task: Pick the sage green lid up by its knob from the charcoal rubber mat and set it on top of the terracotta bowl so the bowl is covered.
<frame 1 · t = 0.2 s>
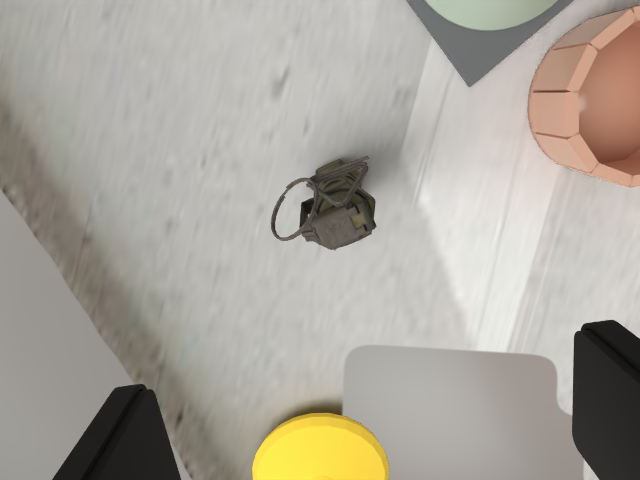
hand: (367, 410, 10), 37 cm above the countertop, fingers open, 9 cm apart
vase: (320, 453, 56), on the countertop
bowl: (602, 97, 43), on the countertop
grenade: (324, 181, 46), on the countertop
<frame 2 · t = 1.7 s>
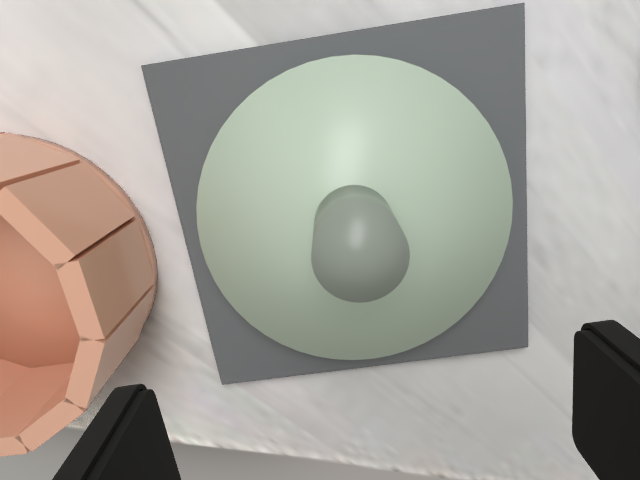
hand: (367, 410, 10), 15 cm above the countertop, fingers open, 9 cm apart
bowl: (31, 262, 26), on the countertop
mat: (352, 216, 25), on the countertop
lid: (352, 219, 24), resting on mat
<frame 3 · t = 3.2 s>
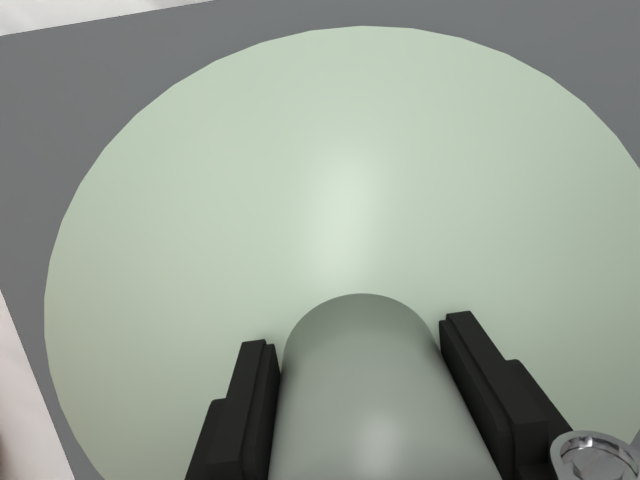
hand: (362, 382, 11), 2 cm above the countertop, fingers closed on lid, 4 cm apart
mat: (355, 338, 13), on the countertop
lid: (357, 348, 13), resting on mat, touching gripper
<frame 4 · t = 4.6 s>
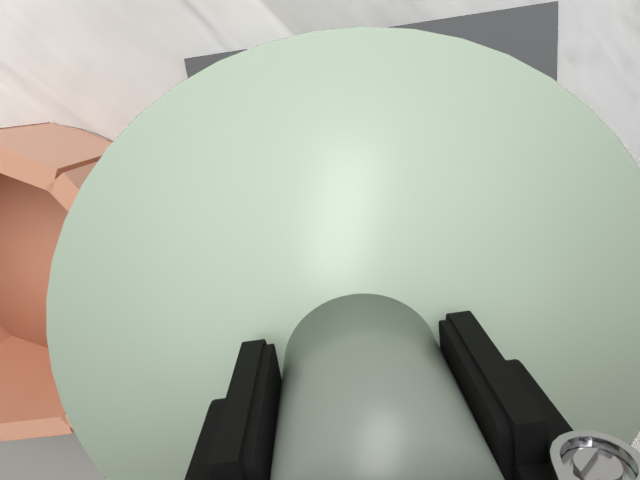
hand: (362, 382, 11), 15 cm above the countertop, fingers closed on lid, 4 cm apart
bowl: (69, 250, 26), on the countertop
mat: (383, 208, 25), on the countertop
lid: (358, 348, 13), point 14 cm above the countertop, touching gripper
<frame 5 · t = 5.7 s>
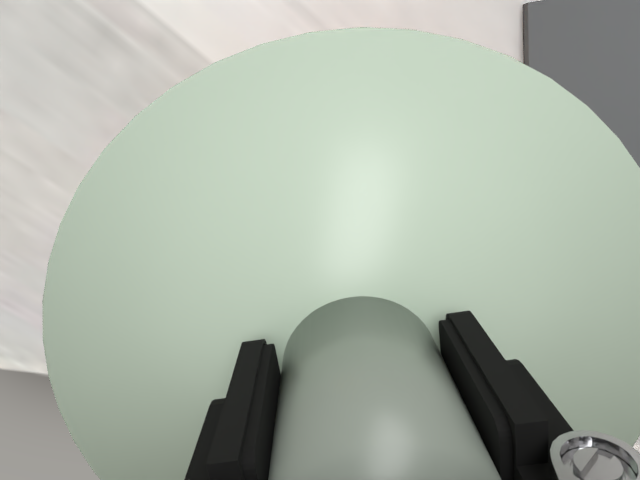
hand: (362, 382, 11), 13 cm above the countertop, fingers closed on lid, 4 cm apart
lid: (357, 350, 13), point 11 cm above the countertop, touching gripper
when the fingers open (10 cm above the countertop, at t = 6.3 s): lid drops 1 cm, resting on bowl.
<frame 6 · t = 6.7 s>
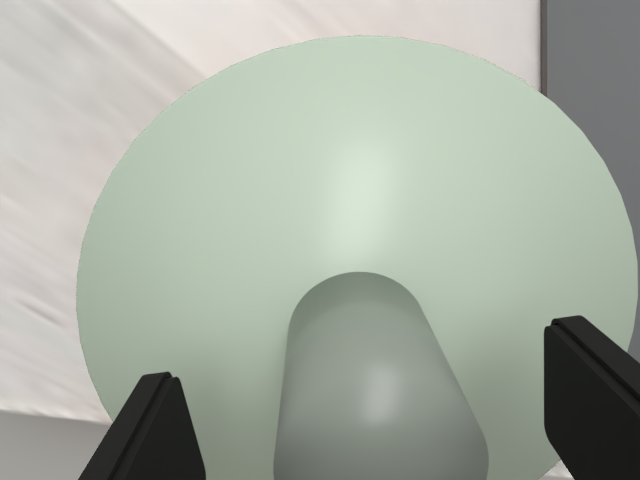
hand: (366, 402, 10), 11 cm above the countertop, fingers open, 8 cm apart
lid: (355, 322, 14), point 7 cm above the countertop, touching bowl
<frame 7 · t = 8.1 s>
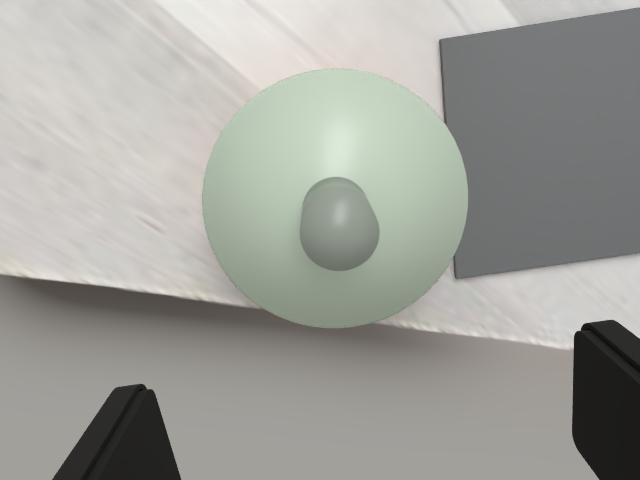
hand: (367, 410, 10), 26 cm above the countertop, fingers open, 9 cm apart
mat: (567, 149, 35), on the countertop
lid: (334, 206, 29), point 7 cm above the countertop, touching bowl
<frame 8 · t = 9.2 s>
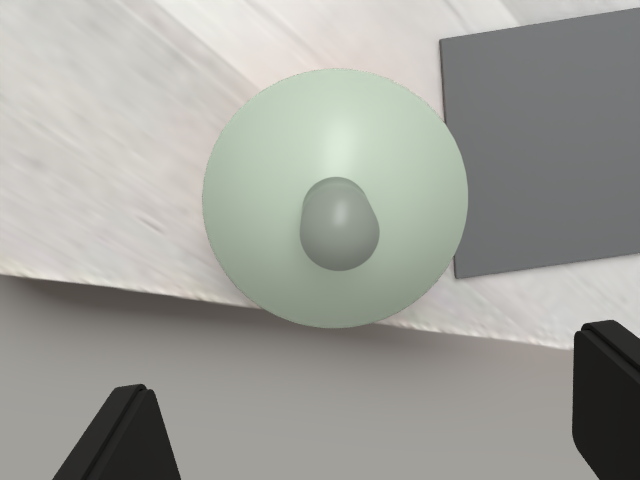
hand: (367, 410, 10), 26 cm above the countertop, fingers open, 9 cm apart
mat: (567, 149, 35), on the countertop
lid: (334, 206, 29), point 7 cm above the countertop, touching bowl
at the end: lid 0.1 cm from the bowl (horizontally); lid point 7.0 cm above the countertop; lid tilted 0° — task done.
